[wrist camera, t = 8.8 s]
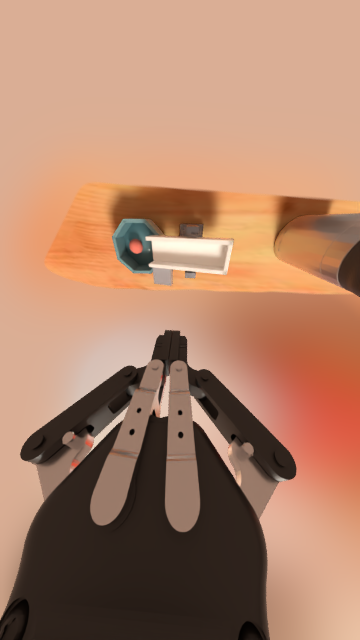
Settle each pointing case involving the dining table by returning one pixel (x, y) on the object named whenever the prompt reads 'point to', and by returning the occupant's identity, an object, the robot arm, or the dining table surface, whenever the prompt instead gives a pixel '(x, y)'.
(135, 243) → the ball
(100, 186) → the dining table surface
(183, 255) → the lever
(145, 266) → the teal octagonal bowl
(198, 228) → the lever stand
